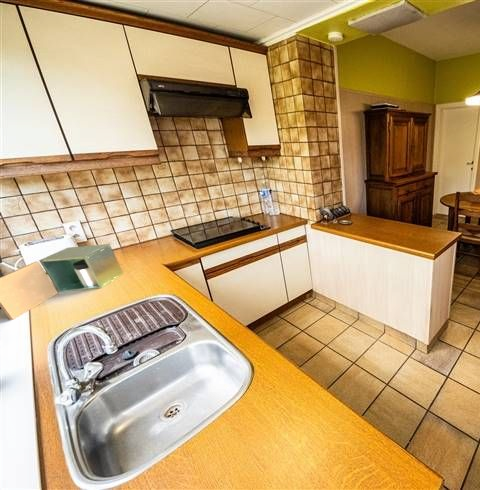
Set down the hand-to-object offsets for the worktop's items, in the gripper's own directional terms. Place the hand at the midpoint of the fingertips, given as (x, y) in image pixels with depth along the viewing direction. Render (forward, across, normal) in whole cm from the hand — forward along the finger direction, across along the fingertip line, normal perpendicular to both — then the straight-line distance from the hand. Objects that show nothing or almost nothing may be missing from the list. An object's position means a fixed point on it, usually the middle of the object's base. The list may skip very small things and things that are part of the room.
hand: (0, 280), depth 110 cm
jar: (+15, +14, +21) cm, 30 cm away
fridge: (+16, +11, +23) cm, 30 cm away
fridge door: (+16, -1, +5) cm, 17 cm away
